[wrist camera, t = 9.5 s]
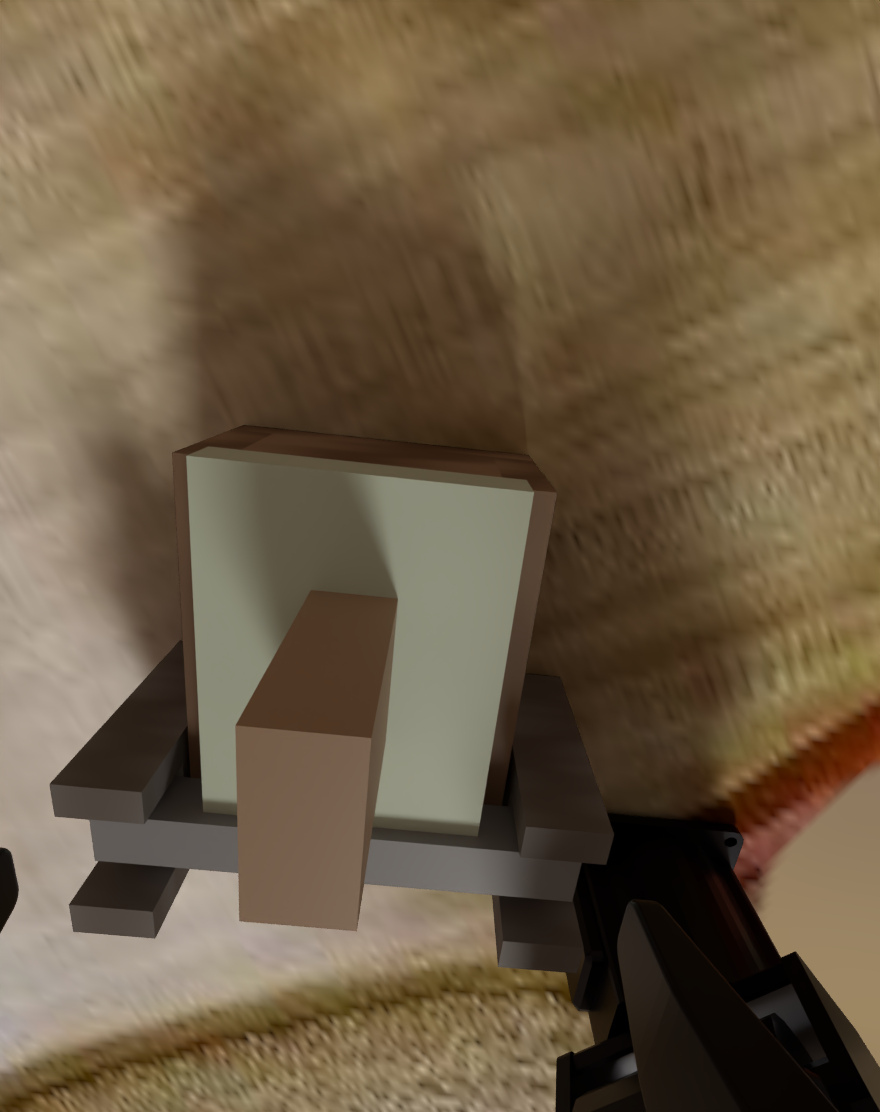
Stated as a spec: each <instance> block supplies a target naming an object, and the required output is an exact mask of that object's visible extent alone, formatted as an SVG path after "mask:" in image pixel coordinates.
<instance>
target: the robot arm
mask: <svg viewBox="0 0 880 1112" xmlns="http://www.w3.org/2000/svg"><path fill="white" fill-rule="evenodd" d="M607 815H608V818H609V821H610V824H611V827H612V829H613V832H614V837H613V841H612V845H611V848H610V852H609V856H608V860H607V863H606V865H602V864H591V863H582V864H581V868H580V872H579V876H578V880H577V884H576V888H575V892H574V896H573V903H574V907H575V912H576V916H577V921H578V925H579V929H580V934H581V938H582V942H583V947H584V949H583V953H582V956H581V960H580V964H579V968H578V971H577V973H568V972H566V975H567V980H568V985H569V991H570V996H571V1001H572V1003H573V1005H574V1006H575V1007H576V1009H577V1010H578V1011H586V1012H588V1014H589V1018H590V1023H591V1028H592V1032H593V1037H594V1042H595V1045H593V1046H591V1047H588V1048H586V1049H584V1050H582V1051H579V1052H577V1053H575V1054H574V1053H573V1052H572V1051H571V1052H569V1053H566V1054H564V1055H562V1056H560V1057H558V1058H557V1070H556V1112H880V1067H879V1066H878V1064H877V1063H876V1061H875V1059H874V1058H873V1056H872V1055H871V1053H870V1051H869V1050H868V1049H867V1047H866V1045H865V1043H864V1042H863V1040H862V1039H861V1037H860V1035H859V1034H858V1032H857V1031H856V1029H855V1028H854V1027H853V1025H852V1024H851V1023H850V1022H849V1020H848V1019H847V1018H846V1016H845V1015H844V1014H843V1012H842V1011H841V1010H840V1008H839V1007H838V1006H837V1005H836V1003H835V1002H834V1001H833V999H832V998H831V997H830V995H829V994H828V993H827V991H826V990H825V989H824V988H823V986H822V985H821V984H820V982H819V981H818V980H817V978H816V977H815V976H814V975H813V973H812V972H811V971H810V969H809V968H808V967H807V965H806V964H805V963H804V961H803V960H802V959H801V958H800V956H799V955H798V954H797V952H793V953H790V954H788V955H786V956H784V957H782V958H781V957H780V955H779V953H778V951H777V949H776V948H775V946H774V944H773V942H772V940H771V939H770V937H769V935H768V933H767V931H766V929H765V927H764V926H763V924H762V922H761V920H760V918H759V916H758V915H757V913H756V911H755V909H754V907H753V906H752V904H751V902H750V900H749V898H748V896H747V895H746V893H745V891H744V889H743V887H742V885H741V884H740V882H739V880H738V878H737V876H736V875H735V873H734V871H733V869H734V867H735V864H736V861H737V859H738V856H739V853H740V850H741V848H742V845H743V840H744V839H743V837H742V835H741V834H740V832H739V830H738V829H737V828H736V827H735V826H733V825H729V824H717V823H706V822H695V821H684V820H673V819H662V818H651V817H640V816H629V815H617V814H607ZM727 838H728V839H727ZM18 891H19V888H18V882H17V878H16V873H15V868H14V863H13V858H12V854H11V852H10V851H9V850H8V849H6V848H0V933H1V931H2V929H3V927H4V925H5V924H6V922H7V920H8V918H9V916H10V915H11V913H12V911H13V909H14V907H15V904H16V902H17V898H18Z"/></svg>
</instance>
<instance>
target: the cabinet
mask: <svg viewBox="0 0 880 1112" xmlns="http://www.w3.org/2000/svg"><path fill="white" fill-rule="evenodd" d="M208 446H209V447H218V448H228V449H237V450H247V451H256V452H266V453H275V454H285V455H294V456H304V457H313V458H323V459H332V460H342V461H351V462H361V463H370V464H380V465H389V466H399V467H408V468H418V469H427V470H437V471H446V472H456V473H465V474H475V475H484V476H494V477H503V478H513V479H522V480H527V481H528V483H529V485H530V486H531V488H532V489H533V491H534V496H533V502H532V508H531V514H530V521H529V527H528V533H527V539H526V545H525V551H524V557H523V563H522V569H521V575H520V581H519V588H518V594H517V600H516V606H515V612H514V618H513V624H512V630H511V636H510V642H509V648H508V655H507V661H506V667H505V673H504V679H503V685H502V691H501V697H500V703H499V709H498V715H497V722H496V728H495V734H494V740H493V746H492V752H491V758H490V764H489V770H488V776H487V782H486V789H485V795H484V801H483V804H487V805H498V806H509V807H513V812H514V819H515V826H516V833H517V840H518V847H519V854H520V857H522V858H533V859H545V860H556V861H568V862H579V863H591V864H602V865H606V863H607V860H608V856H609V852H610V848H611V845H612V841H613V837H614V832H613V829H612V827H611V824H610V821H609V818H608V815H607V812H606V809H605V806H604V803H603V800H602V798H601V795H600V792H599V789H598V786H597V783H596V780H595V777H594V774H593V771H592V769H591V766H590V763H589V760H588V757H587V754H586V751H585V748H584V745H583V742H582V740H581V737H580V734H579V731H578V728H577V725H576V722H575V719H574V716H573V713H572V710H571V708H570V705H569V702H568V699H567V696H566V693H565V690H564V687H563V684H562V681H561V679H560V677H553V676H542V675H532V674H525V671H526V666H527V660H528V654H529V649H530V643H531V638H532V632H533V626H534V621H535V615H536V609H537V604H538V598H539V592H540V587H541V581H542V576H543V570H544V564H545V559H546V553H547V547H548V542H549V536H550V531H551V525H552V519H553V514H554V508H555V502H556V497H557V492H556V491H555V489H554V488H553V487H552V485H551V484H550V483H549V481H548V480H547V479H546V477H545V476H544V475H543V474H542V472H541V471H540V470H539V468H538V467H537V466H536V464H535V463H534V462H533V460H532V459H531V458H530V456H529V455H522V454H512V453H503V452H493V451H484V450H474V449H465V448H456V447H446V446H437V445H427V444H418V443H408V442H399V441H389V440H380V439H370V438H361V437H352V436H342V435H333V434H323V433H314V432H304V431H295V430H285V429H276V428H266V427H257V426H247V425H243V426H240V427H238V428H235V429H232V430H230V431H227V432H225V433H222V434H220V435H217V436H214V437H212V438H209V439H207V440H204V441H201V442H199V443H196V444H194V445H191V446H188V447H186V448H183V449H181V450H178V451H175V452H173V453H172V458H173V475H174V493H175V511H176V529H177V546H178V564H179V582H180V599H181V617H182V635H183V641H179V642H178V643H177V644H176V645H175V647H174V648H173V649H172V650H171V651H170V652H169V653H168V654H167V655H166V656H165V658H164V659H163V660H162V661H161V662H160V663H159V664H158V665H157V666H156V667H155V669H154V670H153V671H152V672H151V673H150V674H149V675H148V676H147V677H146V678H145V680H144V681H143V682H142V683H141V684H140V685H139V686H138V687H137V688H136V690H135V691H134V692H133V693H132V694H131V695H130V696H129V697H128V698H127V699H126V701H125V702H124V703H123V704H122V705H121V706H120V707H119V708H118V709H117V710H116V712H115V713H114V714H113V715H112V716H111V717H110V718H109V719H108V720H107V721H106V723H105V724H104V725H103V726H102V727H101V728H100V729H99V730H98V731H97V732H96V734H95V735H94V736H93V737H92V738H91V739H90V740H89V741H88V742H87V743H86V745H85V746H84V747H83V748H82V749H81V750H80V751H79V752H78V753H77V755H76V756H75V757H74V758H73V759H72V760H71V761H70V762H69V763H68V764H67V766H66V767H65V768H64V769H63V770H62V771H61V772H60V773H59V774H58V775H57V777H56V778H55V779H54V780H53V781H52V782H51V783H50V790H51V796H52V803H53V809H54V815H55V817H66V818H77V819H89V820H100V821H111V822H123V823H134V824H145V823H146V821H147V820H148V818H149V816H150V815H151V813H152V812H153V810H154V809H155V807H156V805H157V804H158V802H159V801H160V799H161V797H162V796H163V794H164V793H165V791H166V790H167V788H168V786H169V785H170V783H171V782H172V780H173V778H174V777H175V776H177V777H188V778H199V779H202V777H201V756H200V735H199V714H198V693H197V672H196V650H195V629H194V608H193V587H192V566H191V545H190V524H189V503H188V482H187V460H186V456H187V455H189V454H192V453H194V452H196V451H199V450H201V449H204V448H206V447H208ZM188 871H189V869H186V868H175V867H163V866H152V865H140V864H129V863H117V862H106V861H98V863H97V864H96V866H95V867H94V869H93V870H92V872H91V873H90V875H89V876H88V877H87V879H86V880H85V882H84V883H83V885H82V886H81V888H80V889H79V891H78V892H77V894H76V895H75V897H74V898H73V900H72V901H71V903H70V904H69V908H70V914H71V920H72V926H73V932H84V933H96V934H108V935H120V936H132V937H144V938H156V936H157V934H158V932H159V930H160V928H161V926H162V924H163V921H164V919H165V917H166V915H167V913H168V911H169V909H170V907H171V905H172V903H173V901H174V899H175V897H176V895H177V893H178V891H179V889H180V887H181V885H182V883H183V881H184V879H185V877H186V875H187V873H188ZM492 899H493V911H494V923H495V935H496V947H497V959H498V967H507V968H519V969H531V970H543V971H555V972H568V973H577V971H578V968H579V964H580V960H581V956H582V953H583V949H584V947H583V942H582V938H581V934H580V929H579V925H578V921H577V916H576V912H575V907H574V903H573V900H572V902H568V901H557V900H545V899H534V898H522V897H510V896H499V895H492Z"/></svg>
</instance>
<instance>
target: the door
mask: <svg viewBox="0 0 880 1112" xmlns="http://www.w3.org/2000/svg"><path fill="white" fill-rule="evenodd" d="M186 460H187V482H188V503H189V524H190V545H191V566H192V587H193V608H194V629H195V650H196V672H197V693H198V714H199V735H200V756H201V777H202V779H199V778H188V777H177V776H175V777H174V778H173V780H172V782H171V783H170V785H169V786H168V788H167V790H166V791H165V793H164V794H163V796H162V797H161V799H160V801H159V802H158V804H157V805H156V807H155V809H154V810H153V812H152V813H151V815H150V816H149V818H148V820H147V821H146V823H145V824H134V823H123V822H111V821H100V820H90V827H91V835H92V842H93V850H94V857H95V861H106V862H117V863H129V864H140V865H152V866H163V867H175V868H186V869H198V870H210V871H221V872H233V873H239V920H240V921H244V922H256V923H268V924H279V925H291V926H303V927H315V928H327V929H339V930H351V931H357V926H358V919H359V913H360V906H361V900H362V893H363V887H364V884H372V885H383V886H395V887H406V888H418V889H429V890H441V891H453V892H464V893H476V894H487V895H499V896H510V897H522V898H534V899H545V900H557V901H568V902H572V900H573V896H574V892H575V888H576V884H577V880H578V876H579V872H580V868H581V864H582V863H579V862H568V861H556V860H545V859H533V858H522V857H520V854H519V847H518V840H517V833H516V826H515V819H514V812H513V807H509V806H498V805H487V804H483V801H484V795H485V789H486V782H487V776H488V770H489V764H490V758H491V752H492V746H493V740H494V734H495V728H496V722H497V715H498V709H499V703H500V697H501V691H502V685H503V679H504V673H505V667H506V661H507V655H508V648H509V642H510V636H511V630H512V624H513V618H514V612H515V606H516V600H517V594H518V588H519V581H520V575H521V569H522V563H523V557H524V551H525V545H526V539H527V533H528V527H529V521H530V514H531V508H532V502H533V496H534V491H533V489H532V488H531V486H530V485H529V483H528V481H527V480H522V479H513V478H503V477H494V476H484V475H475V474H465V473H456V472H446V471H437V470H427V469H418V468H408V467H399V466H389V465H380V464H370V463H361V462H351V461H342V460H332V459H323V458H313V457H304V456H294V455H285V454H275V453H266V452H256V451H247V450H237V449H228V448H218V447H209V446H208V447H206V448H204V449H201V450H199V451H196V452H194V453H192V454H189V455H187V456H186Z"/></svg>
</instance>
